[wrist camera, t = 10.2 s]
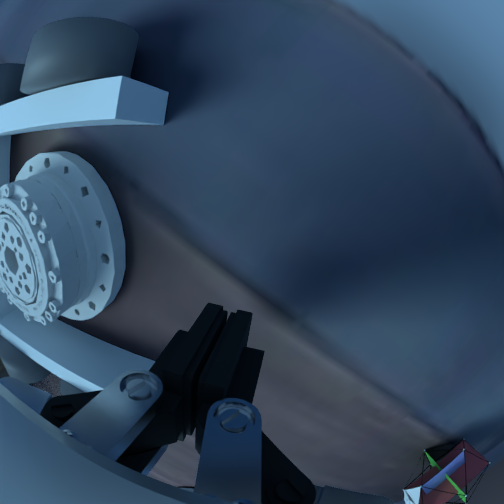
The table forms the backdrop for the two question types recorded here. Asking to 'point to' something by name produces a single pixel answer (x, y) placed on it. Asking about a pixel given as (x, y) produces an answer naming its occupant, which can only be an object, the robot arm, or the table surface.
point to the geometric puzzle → (446, 476)
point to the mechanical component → (60, 239)
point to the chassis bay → (64, 116)
